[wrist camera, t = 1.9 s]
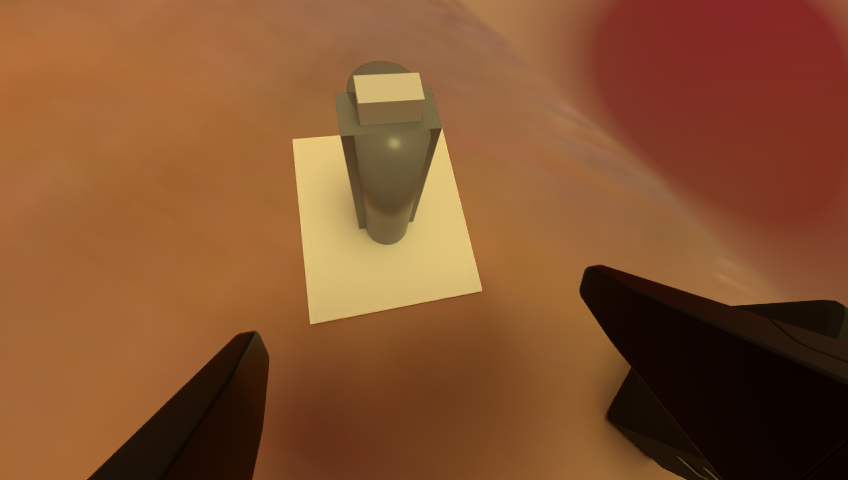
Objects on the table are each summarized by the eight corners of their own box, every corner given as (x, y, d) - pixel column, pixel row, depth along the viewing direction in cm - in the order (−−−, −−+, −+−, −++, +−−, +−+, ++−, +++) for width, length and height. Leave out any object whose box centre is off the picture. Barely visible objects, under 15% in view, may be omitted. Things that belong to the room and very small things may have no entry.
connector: (416, 240, 22) (457, 142, 11) (362, 248, 21) (341, 153, 10) (404, 179, 23) (429, 33, 12) (353, 185, 23) (324, 35, 11)
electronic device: (602, 418, 21) (788, 492, 11) (662, 309, 24) (848, 296, 14) (651, 462, 20) (885, 577, 11) (705, 346, 23) (925, 357, 14)
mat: (480, 291, 22) (482, 290, 22) (311, 324, 20) (310, 324, 19) (440, 130, 26) (441, 127, 25) (294, 143, 23) (292, 139, 23)
